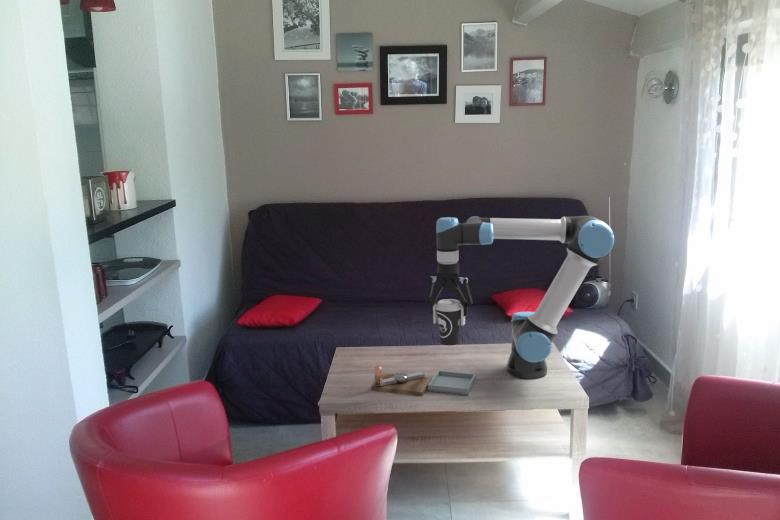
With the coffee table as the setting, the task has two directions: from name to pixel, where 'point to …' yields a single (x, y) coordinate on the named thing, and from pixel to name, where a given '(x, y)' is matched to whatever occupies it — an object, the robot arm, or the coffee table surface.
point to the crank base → (404, 386)
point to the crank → (395, 377)
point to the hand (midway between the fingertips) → (449, 323)
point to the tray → (452, 382)
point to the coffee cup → (449, 320)
